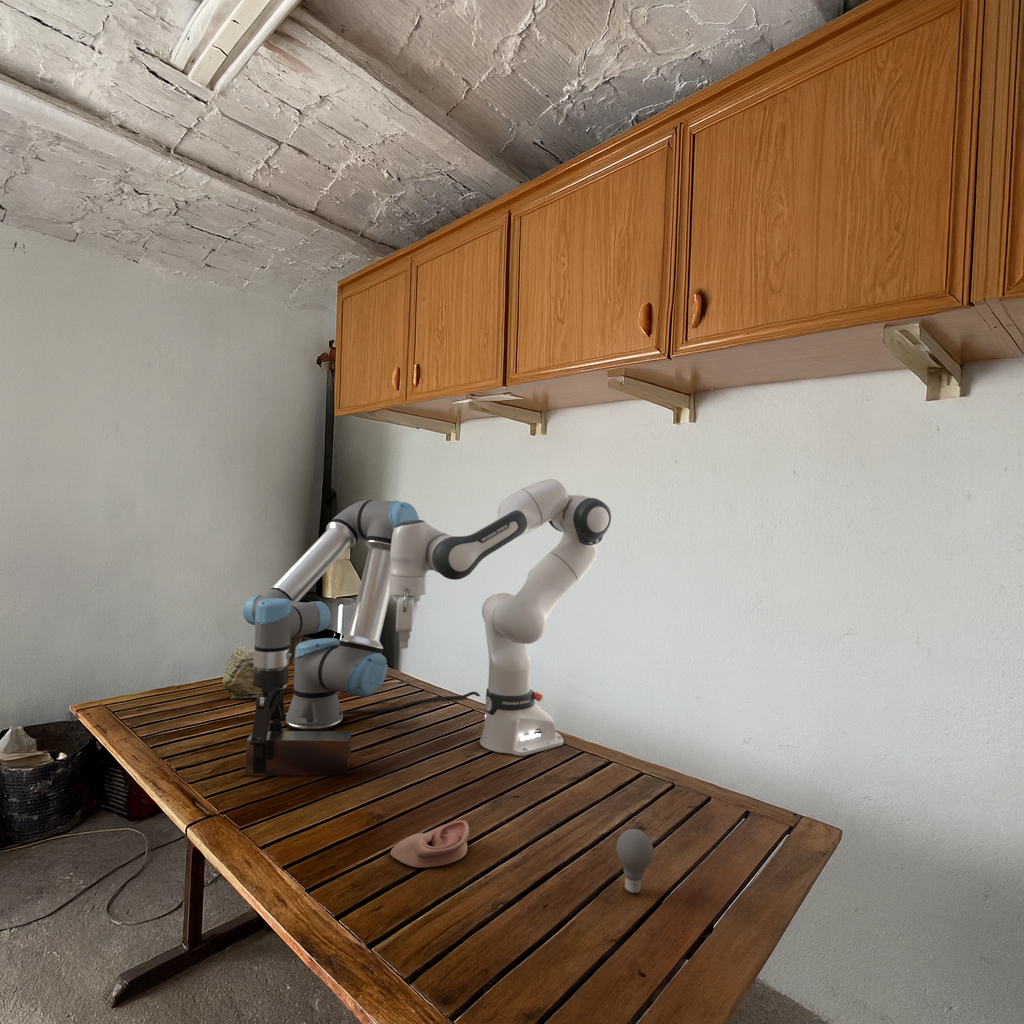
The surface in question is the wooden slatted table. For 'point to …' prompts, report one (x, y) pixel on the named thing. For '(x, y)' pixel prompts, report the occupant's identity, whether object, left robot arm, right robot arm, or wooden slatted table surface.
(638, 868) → the light bulb
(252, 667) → the fossil
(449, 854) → the anatomical model
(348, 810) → the wooden slatted table surface
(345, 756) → the bar
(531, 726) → the right robot arm
